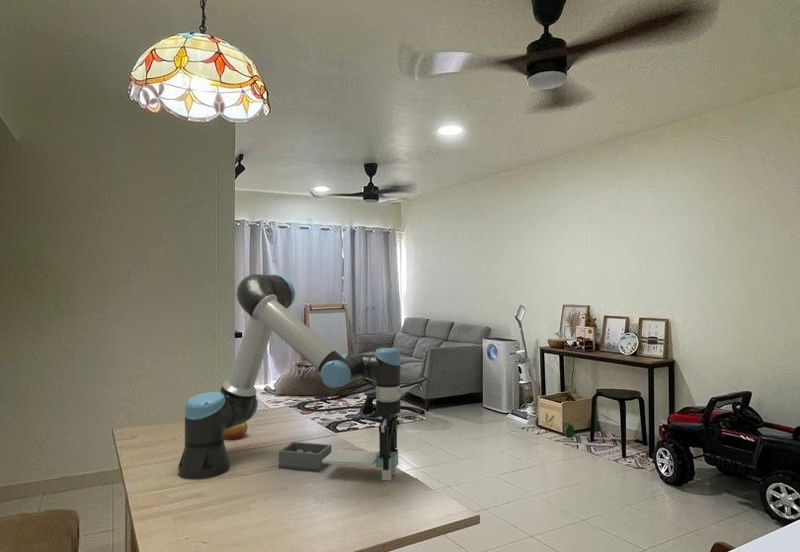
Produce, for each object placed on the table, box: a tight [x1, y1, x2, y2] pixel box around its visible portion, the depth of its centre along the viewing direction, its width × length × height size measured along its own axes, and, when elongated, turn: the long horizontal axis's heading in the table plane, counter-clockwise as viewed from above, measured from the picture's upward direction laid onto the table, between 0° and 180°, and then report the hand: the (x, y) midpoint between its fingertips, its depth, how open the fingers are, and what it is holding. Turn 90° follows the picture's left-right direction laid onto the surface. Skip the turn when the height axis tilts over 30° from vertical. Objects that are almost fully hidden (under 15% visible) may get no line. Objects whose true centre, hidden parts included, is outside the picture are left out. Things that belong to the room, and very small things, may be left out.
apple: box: [224, 421, 248, 440], centre depth 192 cm, size 10×10×8 cm
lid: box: [322, 449, 399, 469], centre depth 153 cm, size 22×11×4 cm, turn 76°
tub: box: [278, 441, 332, 473], centre depth 161 cm, size 14×10×6 cm
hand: (388, 476), depth 150 cm, fingers closed on lid, 4 cm apart
